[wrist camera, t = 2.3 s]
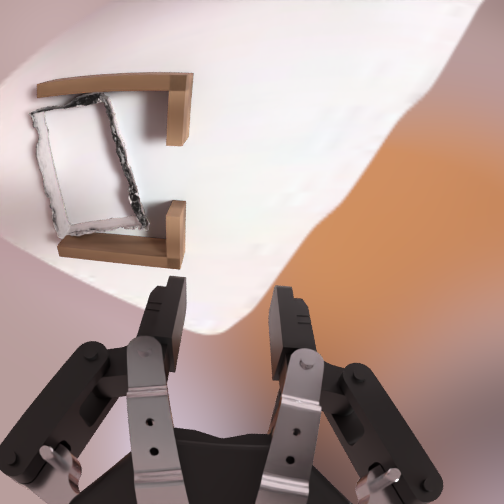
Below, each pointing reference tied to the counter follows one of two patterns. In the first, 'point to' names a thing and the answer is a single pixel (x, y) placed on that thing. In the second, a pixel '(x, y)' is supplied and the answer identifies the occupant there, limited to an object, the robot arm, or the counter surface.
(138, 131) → the counter surface
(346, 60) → the counter surface
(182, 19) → the counter surface
